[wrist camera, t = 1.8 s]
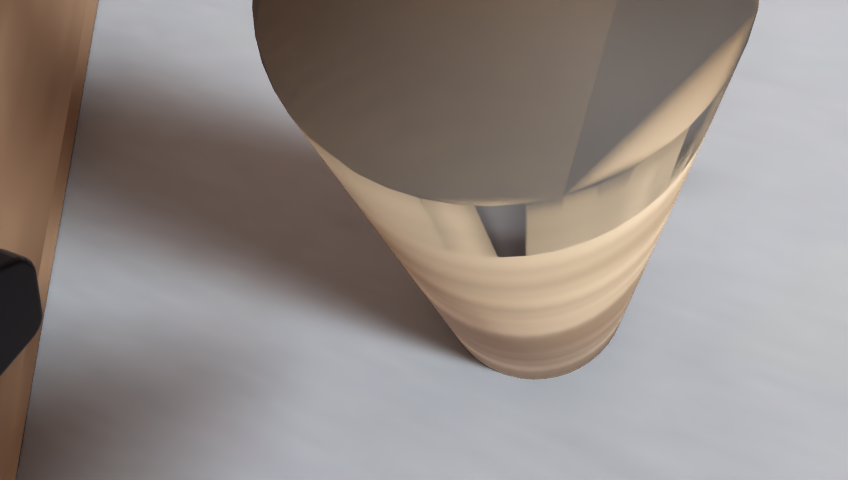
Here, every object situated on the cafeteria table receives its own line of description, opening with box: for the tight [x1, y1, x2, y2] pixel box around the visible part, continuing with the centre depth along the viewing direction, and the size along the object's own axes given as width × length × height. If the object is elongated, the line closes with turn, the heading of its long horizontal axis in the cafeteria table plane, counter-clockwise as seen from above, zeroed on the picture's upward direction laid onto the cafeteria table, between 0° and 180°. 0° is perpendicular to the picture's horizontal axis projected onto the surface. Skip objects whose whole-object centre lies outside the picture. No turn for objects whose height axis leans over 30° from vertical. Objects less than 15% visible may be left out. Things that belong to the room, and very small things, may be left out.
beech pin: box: [252, 0, 759, 379], centre depth 13 cm, size 4×4×13 cm
